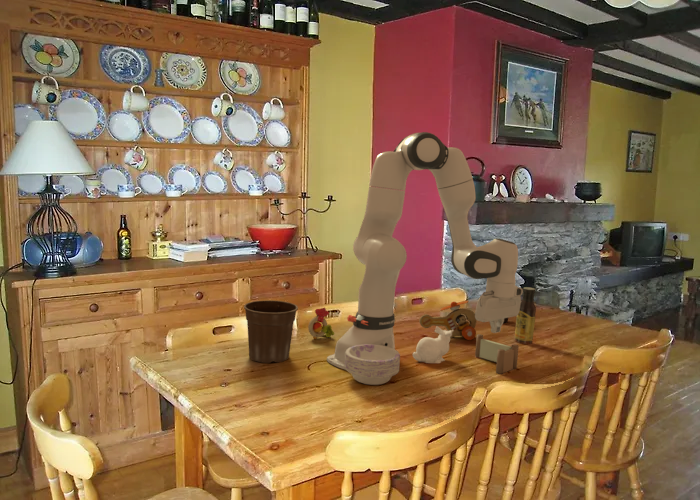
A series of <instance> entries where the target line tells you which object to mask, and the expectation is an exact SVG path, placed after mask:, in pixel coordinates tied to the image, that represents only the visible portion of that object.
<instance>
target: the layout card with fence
mask: <svg viewBox="0 0 700 500" xmlns="http://www.w3.org/2000/svg"><path fill="white" fill-rule="evenodd" d="M518 355H519V345H518V344H511V349H510V350H507V351H505V350H503V349H498V353H497V362H496V369H495V373H496V374H498V375H502V374H505V373H509V372H510V371H513V370H516V369H518V359H519V358H518ZM475 358H476V359H482V358H481V357H475ZM487 361H489V362H490V360H487ZM492 363H495V362H494V361H492Z"/></svg>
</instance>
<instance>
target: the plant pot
mask: <svg viewBox="0 0 700 500" xmlns="http://www.w3.org/2000/svg"><path fill="white" fill-rule="evenodd" d="M243 308H244V310H245V311H244V312H245V320H246V323H247V339H248V340H247V341H248V355H249V358H250V359H251V360H252V361H255V362H257V363H264V364H271V363H272V362H275V363H281V362H285V361H287V360H288V359H289V358H290V353H291V352H290V351H291V344H292V337H293V328H294V322H295V320H296V314H297V311H298V309H299V307H298V305H296V304H295V303H292V302H289V301H285V300H283V301H282V300H268V299H267V300H256V301H255V300H253V301H249V302H248V303H245V304H244V306H243Z"/></svg>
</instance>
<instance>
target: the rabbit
mask: <svg viewBox="0 0 700 500" xmlns="http://www.w3.org/2000/svg"><path fill="white" fill-rule="evenodd" d="M453 331H454V330H450V331H448V330H447V329H444V330H443V328H441V327H440V326H435V329H434V333H436V334H439V335H438V336H437V337H436V338H433V337H430V336H425V337H423V338H421V339H420V340H419V341H418V342H417V344H416V348H415V351H413V353H412V357H413V359H414V360H415V361H417V362H420V363H425V364H441V363H442V362H445V361H446V359H444V358H443V356H445V355H446V354H448V352H449V351H450V341H451V337H450V336H452V332H453Z"/></svg>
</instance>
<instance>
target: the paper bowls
mask: <svg viewBox="0 0 700 500" xmlns="http://www.w3.org/2000/svg"><path fill="white" fill-rule="evenodd" d="M400 361H401V354H400V352H399V351H398V350H396V348H395V349H393V348H390V347H387V346H382V345H373V344H365V345H356V346H352V347H350V348H348V349H347V350H346V352H345V369H346V370H345V369H344V370H345V371H347V372H348V373H349V374H351V376H352V378H353V379H354V380H355V381H357V382H358V383H361V384H364V385H369V386H370V385H371V386H379V385H384V384H385V383H388V382H389V381H391V379H392V377H393V376H396V375H397V374H398V373H399V372H400Z"/></svg>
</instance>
